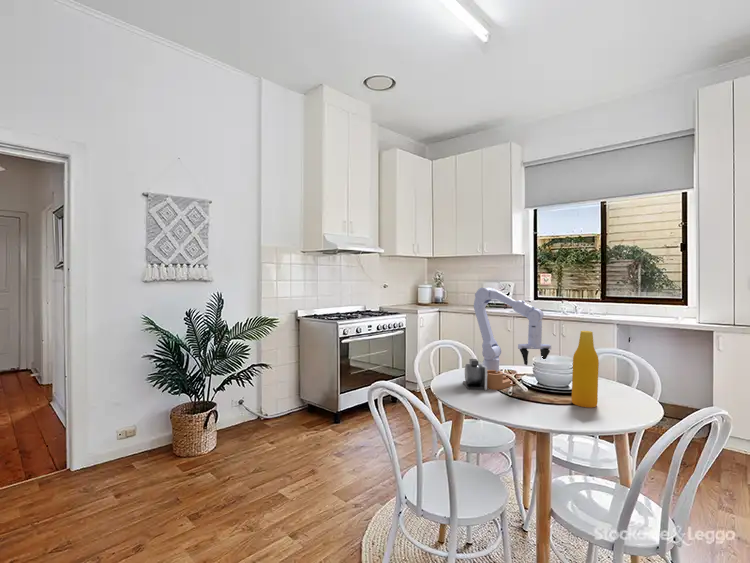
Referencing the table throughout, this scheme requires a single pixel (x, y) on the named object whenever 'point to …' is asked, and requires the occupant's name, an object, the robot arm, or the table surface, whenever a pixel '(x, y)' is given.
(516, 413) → the table surface
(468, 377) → the motor
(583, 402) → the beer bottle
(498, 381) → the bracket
